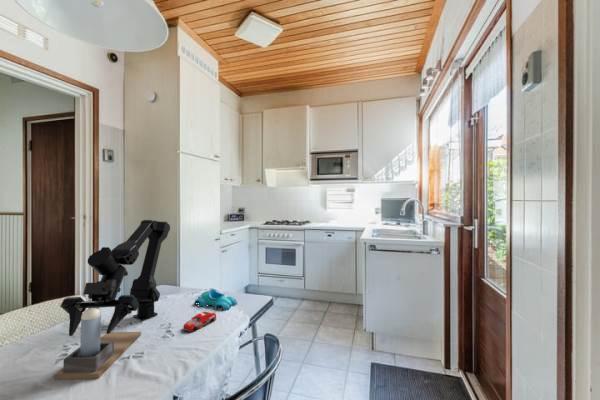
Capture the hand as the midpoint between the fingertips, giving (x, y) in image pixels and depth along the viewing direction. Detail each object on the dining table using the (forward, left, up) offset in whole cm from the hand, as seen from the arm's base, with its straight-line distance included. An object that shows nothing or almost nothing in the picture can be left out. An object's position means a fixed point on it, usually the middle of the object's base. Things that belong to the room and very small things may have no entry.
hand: (89, 334), depth 73 cm
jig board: (-4, +5, -9) cm, 12 cm away
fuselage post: (-1, +1, -8) cm, 8 cm away
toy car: (-5, +51, -10) cm, 52 cm away
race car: (+5, +34, -10) cm, 35 cm away
